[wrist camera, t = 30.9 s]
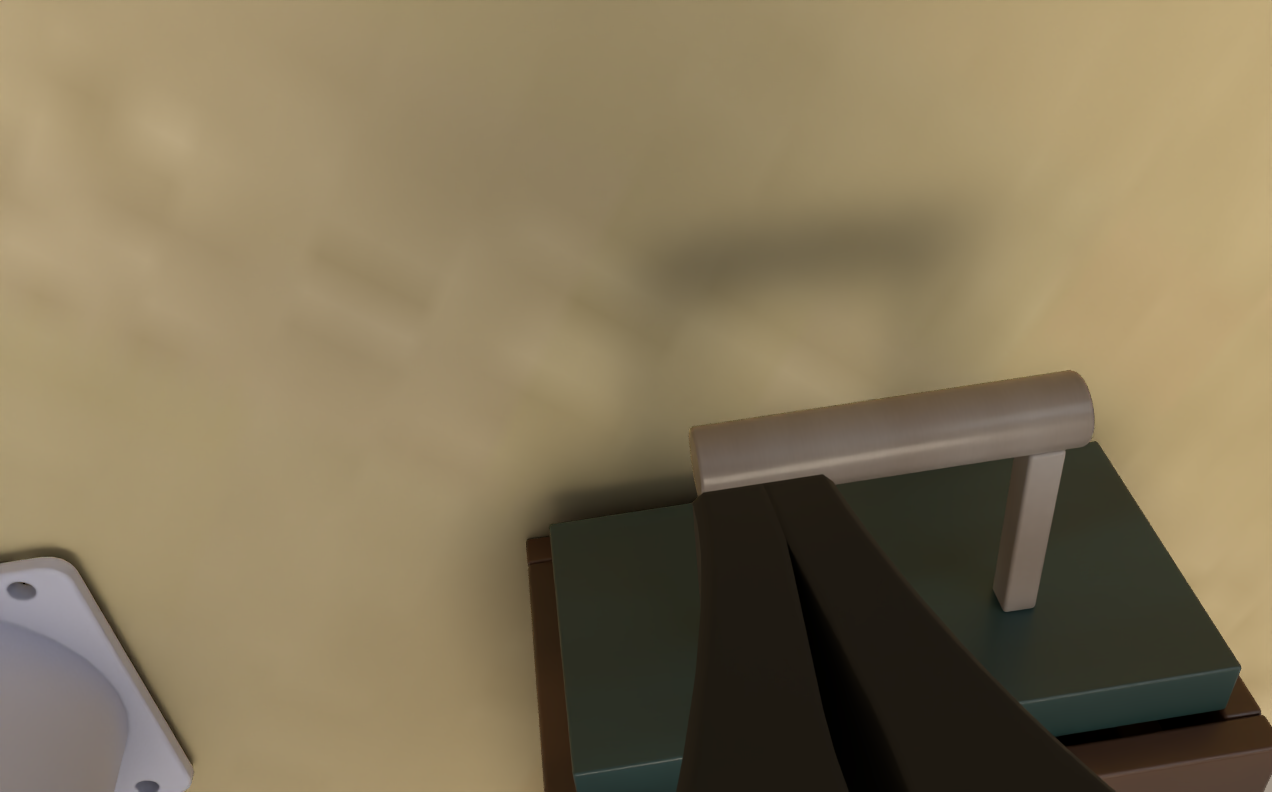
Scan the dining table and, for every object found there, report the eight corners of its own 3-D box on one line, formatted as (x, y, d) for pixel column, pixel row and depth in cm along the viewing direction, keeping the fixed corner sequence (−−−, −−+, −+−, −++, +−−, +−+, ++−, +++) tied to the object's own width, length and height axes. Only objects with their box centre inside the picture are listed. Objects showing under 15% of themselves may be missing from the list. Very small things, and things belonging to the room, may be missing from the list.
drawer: (509, 321, 20) (526, 568, 16) (1144, 229, 21) (1330, 445, 16) (615, 865, 32) (642, 1092, 28) (1017, 799, 33) (1106, 1012, 28)
